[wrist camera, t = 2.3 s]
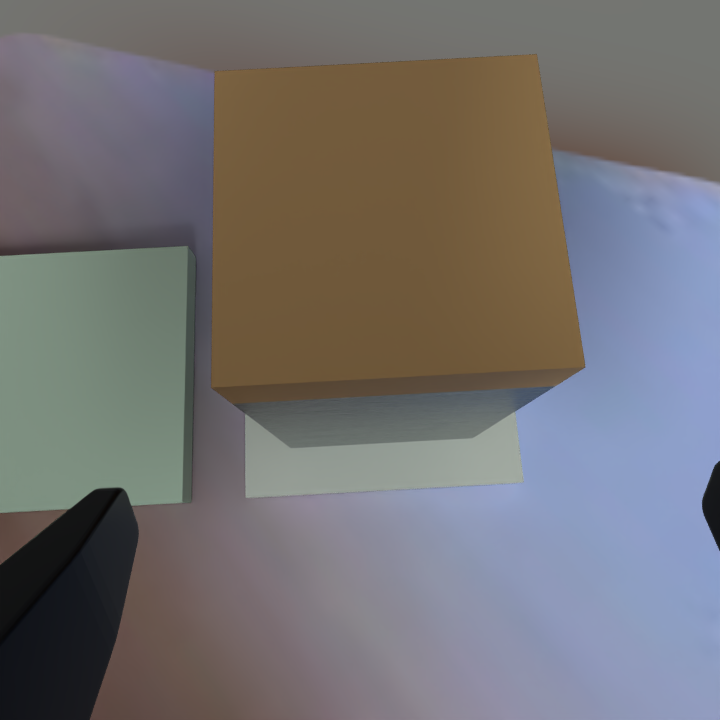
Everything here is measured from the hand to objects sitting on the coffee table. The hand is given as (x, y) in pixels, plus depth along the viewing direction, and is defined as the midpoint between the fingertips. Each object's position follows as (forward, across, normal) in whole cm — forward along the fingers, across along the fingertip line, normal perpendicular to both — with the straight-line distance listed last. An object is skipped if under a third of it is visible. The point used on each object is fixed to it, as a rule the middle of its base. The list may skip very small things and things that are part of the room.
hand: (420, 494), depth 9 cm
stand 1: (+11, +11, +4) cm, 16 cm away
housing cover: (+4, 0, -2) cm, 5 cm away
